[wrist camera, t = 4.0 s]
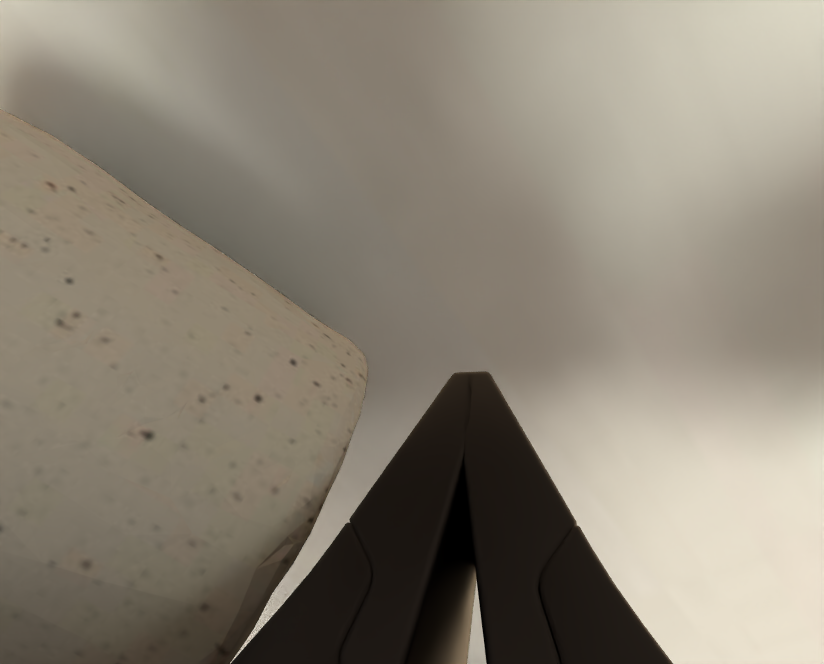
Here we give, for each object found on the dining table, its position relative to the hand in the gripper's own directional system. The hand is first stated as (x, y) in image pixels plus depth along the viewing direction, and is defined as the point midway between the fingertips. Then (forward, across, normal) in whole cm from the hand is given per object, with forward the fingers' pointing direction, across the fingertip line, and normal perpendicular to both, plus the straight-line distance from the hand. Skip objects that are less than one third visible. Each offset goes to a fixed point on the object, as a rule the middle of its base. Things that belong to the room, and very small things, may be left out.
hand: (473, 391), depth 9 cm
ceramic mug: (+3, +8, 0) cm, 8 cm away
